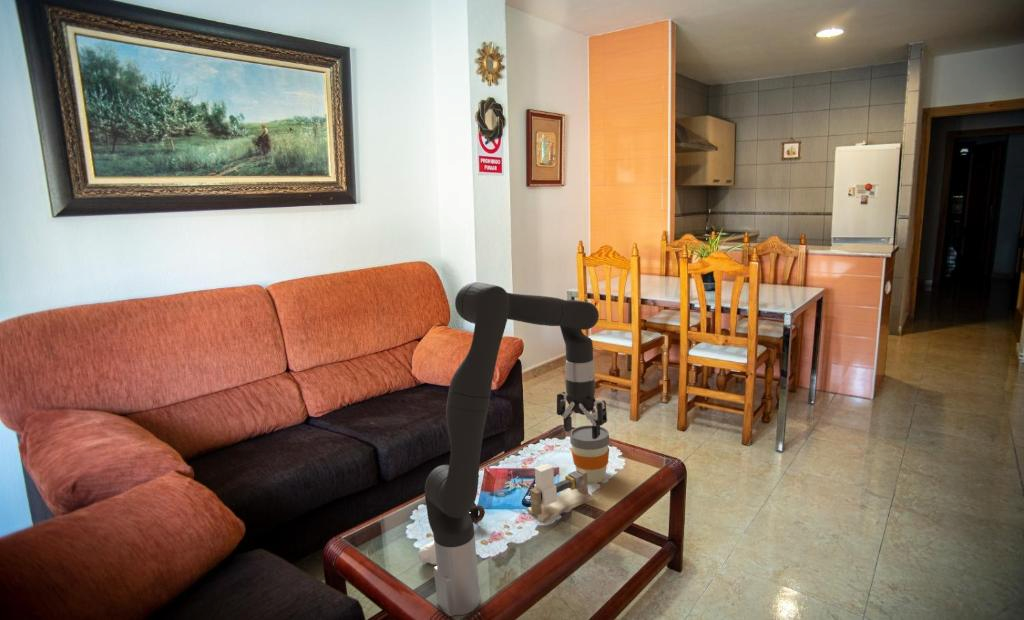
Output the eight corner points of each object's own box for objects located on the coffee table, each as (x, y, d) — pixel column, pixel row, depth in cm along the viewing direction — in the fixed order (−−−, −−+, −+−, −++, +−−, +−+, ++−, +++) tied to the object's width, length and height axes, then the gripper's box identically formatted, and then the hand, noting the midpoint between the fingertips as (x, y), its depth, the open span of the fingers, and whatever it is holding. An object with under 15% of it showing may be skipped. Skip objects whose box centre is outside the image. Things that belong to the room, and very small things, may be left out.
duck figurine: (422, 577, 154) (432, 559, 146) (410, 550, 158) (418, 531, 150) (462, 558, 160) (473, 540, 153) (449, 533, 164) (460, 513, 157)
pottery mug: (442, 533, 170) (440, 502, 172) (459, 530, 178) (457, 501, 181) (479, 529, 165) (476, 497, 168) (495, 526, 173) (492, 496, 176)
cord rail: (541, 521, 171) (540, 496, 169) (527, 511, 177) (526, 486, 175) (592, 499, 181) (591, 474, 179) (577, 490, 187) (576, 466, 185)
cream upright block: (544, 506, 172) (542, 472, 170) (534, 499, 176) (532, 466, 174) (557, 501, 175) (555, 468, 172) (546, 494, 178) (545, 462, 176)
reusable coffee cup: (617, 471, 197) (615, 428, 194) (601, 489, 186) (599, 444, 183) (582, 464, 203) (580, 422, 200) (565, 480, 193) (562, 437, 190)
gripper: (549, 375, 159) (551, 433, 162) (595, 384, 150) (597, 445, 153) (565, 368, 164) (567, 424, 168) (611, 376, 155) (612, 435, 158)
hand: (581, 434), depth 160 cm, fingers open, 8 cm apart
